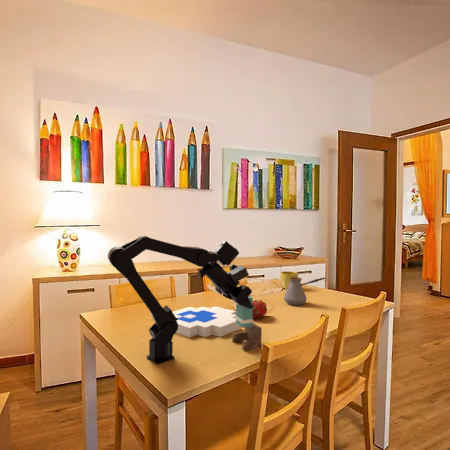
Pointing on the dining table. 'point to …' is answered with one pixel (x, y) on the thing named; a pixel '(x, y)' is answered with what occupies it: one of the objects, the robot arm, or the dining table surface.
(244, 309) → the book
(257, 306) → the dragon fruit
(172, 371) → the dining table surface
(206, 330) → the stepped white slab
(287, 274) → the plant pot
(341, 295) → the dining table surface
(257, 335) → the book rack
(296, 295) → the coffee pot
